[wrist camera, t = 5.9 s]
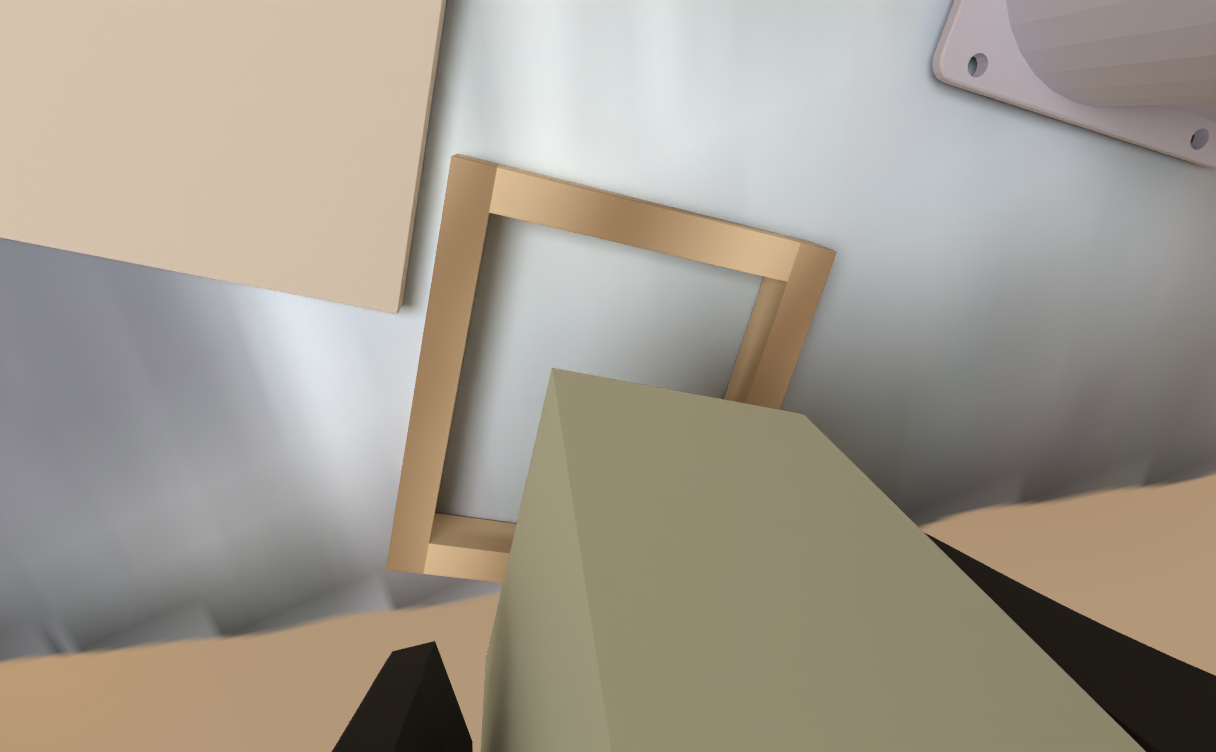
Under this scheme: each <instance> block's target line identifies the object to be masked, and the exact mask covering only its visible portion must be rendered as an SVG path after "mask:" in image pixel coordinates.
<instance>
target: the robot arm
mask: <svg viewBox="0 0 1216 752" xmlns="http://www.w3.org/2000/svg"><path fill="white" fill-rule="evenodd" d="M972 56H974V57H975V58H976V61H977V69H976V71H975V73H974V74H973V75H972V76H971V75H970V74H969V72H968V69H967V68H968V62H969V61H970V59H971V57H972ZM932 67H933V73H934V74H935V76H936V78H937V79H938V80H940V81H942V82H943V83H946V84H950V85H953V86H956V87H959V88H962V89H965V90H968V91H971V92H974V93H977V94H981V95H984V96H987V97H990V98H993V99H996V100H999V101H1002V102H1005V103H1008V104H1012V105H1015V106H1018V107H1021V108H1024V109H1027V110H1030V111H1033V112H1036V113H1040V114H1043V115H1046V116H1049V117H1052V118H1055V119H1058V120H1061V121H1064V122H1067V123H1071V124H1074V125H1077V126H1080V127H1083V128H1086V129H1089V130H1092V131H1095V132H1098V133H1102V134H1105V135H1108V136H1111V137H1114V138H1117V139H1120V140H1123V141H1126V142H1129V143H1133V144H1136V145H1139V146H1142V147H1145V148H1148V149H1151V150H1154V151H1157V152H1160V153H1164V154H1167V155H1170V156H1173V157H1176V158H1179V159H1182V160H1185V161H1188V162H1192V163H1195V164H1198V165H1201V166H1204V167H1214V168H1216V0H954V3H953V5H952V8H951V11H950V13H949V16H948V19H947V21H946V24H945V27H944V29H943V32H942V35H941V37H940V40H939V43H938V46H937V48H936V51H935V54H934V57H933V62H932ZM1193 135H1194V140H1193V142H1192V143H1190V142H1191V138H1192V136H1193ZM925 534H926V533H925ZM926 535H927V536H928V537H929V538H930V539H931V540H932V541H933V542H934V543H935V544H936V545H937V546H938V547H939V548H940V549H941V550H942V551H943V552H944V553H945V554H946V555H947V556H948V557H949V558H950V559H951V560H952V561H953V562H954V563H955V564H956V565H957V566H958V567H959V568H960V569H961V570H962V571H963V572H964V573H965V574H966V575H967V576H968V577H969V578H970V579H971V580H972V581H973V582H974V583H975V584H976V585H977V586H978V587H980V588H981V589H982V590H983V591H984V592H985V593H986V594H987V595H988V596H989V597H990V598H991V599H992V600H993V601H994V602H995V603H996V604H997V605H998V606H999V607H1000V608H1001V609H1002V610H1003V611H1004V612H1005V613H1006V614H1007V615H1008V616H1009V617H1010V618H1011V619H1012V620H1013V621H1014V622H1015V623H1016V624H1017V625H1018V626H1019V627H1020V628H1021V629H1022V630H1023V631H1024V632H1025V633H1026V634H1027V635H1028V636H1029V637H1030V638H1031V639H1032V640H1033V641H1034V642H1035V643H1036V644H1037V645H1038V646H1039V647H1040V648H1041V649H1042V650H1043V651H1044V652H1045V653H1046V654H1047V655H1048V656H1050V657H1051V658H1052V659H1053V660H1054V661H1055V662H1056V663H1057V664H1058V665H1059V666H1060V667H1061V668H1062V669H1063V670H1064V671H1065V672H1066V673H1067V674H1068V675H1069V676H1070V677H1071V678H1072V679H1073V680H1074V681H1075V682H1076V683H1077V684H1078V685H1079V686H1080V687H1081V688H1082V689H1083V690H1084V691H1085V692H1086V693H1087V694H1088V695H1089V696H1090V697H1091V698H1092V699H1093V700H1094V701H1095V702H1096V703H1097V704H1098V705H1099V706H1100V707H1101V708H1102V709H1103V710H1104V711H1105V712H1106V713H1107V714H1108V715H1109V716H1110V717H1111V718H1112V719H1113V720H1114V721H1115V722H1116V723H1117V724H1119V725H1120V726H1121V727H1122V728H1123V729H1124V730H1125V731H1126V732H1127V733H1128V734H1129V735H1130V736H1131V737H1132V738H1133V739H1134V740H1135V741H1136V742H1137V743H1138V744H1139V745H1140V746H1141V747H1142V748H1143V749H1144V750H1145V751H1146V752H1216V676H1215V675H1212V674H1210V673H1208V672H1206V671H1203V670H1201V669H1199V668H1196V667H1194V666H1192V665H1189V664H1187V663H1185V662H1182V661H1180V660H1178V659H1176V658H1173V657H1171V656H1169V655H1167V654H1165V653H1162V652H1160V651H1158V650H1156V649H1154V648H1152V647H1149V646H1147V645H1145V644H1143V643H1140V642H1139V641H1136V640H1134V639H1132V638H1130V637H1128V636H1125V635H1123V634H1121V633H1119V632H1117V631H1115V630H1112V629H1110V628H1108V627H1106V626H1104V625H1102V624H1100V623H1098V622H1096V621H1094V620H1092V619H1090V618H1088V617H1086V616H1084V615H1081V614H1079V613H1077V612H1075V611H1073V610H1071V609H1069V608H1067V607H1065V606H1063V605H1061V604H1059V603H1057V602H1055V601H1053V600H1052V599H1050V598H1048V597H1046V596H1044V595H1042V594H1040V593H1038V592H1036V591H1034V590H1032V589H1030V588H1028V587H1026V586H1024V585H1022V584H1020V583H1019V582H1016V581H1015V580H1013V579H1011V578H1009V577H1007V576H1005V575H1003V574H1001V573H999V572H997V571H996V570H994V569H991V568H990V567H988V566H986V565H984V564H983V563H981V562H979V561H977V560H975V559H973V558H971V557H969V556H968V555H966V554H964V553H962V552H960V551H958V550H956V549H954V548H953V547H950V546H949V545H947V544H945V543H943V542H941V541H939V540H937V539H936V538H934V537H932V536H930V535H928V534H926ZM332 752H472V740H471V737H470V734H469V731H468V729H467V726H466V723H465V721H464V718H463V715H462V713H461V710H460V707H459V704H458V702H457V699H456V696H455V694H454V691H453V688H452V686H451V683H450V680H449V678H448V675H447V672H446V669H445V667H444V664H443V662H442V659H441V656H440V653H439V651H438V648H437V646H436V643H435V641H434V642H429V643H426V644H422V645H417V646H413V647H409V648H405V649H401V650H397V651H393V652H392V653H391V655H390V656H389V658H388V659H387V661H386V662H385V664H384V666H383V667H382V669H381V670H380V672H379V674H378V675H377V677H376V679H375V681H374V682H373V684H372V686H371V687H370V689H369V691H368V692H367V694H366V696H365V697H364V699H363V701H362V702H361V704H360V706H359V708H358V709H357V711H356V713H355V714H354V716H353V717H352V719H351V721H350V722H349V724H348V726H347V727H346V729H345V731H344V732H343V734H342V736H341V737H340V739H339V741H338V743H337V744H336V746H335V747H334V749H333V750H332Z"/></svg>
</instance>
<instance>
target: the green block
mask: <svg viewBox="0 0 1216 752" xmlns="http://www.w3.org/2000/svg"><path fill="white" fill-rule="evenodd" d="M481 737H482V738H481V752H1146V751H1145V750H1144V749H1143V748H1142V747H1141V746H1140V745H1139V744H1138V743H1137V742H1136V741H1135V740H1134V739H1133V738H1132V737H1131V736H1130V735H1129V734H1128V733H1127V732H1126V731H1125V730H1124V729H1123V728H1122V727H1121V726H1120V725H1119V724H1117V723H1116V722H1115V721H1114V720H1113V719H1112V718H1111V717H1110V716H1109V715H1108V714H1107V713H1106V712H1105V711H1104V710H1103V709H1102V708H1101V707H1100V706H1099V705H1098V704H1097V703H1096V702H1095V701H1094V700H1093V699H1092V698H1091V697H1090V696H1089V695H1088V694H1087V693H1086V692H1085V691H1084V690H1083V689H1082V688H1081V687H1080V686H1079V685H1078V684H1077V683H1076V682H1075V681H1074V680H1073V679H1072V678H1071V677H1070V676H1069V675H1068V674H1067V673H1066V672H1065V671H1064V670H1063V669H1062V668H1061V667H1060V666H1059V665H1058V664H1057V663H1056V662H1055V661H1054V660H1053V659H1052V658H1051V657H1050V656H1048V655H1047V654H1046V653H1045V652H1044V651H1043V650H1042V649H1041V648H1040V647H1039V646H1038V645H1037V644H1036V643H1035V642H1034V641H1033V640H1032V639H1031V638H1030V637H1029V636H1028V635H1027V634H1026V633H1025V632H1024V631H1023V630H1022V629H1021V628H1020V627H1019V626H1018V625H1017V624H1016V623H1015V622H1014V621H1013V620H1012V619H1011V618H1010V617H1009V616H1008V615H1007V614H1006V613H1005V612H1004V611H1003V610H1002V609H1001V608H1000V607H999V606H998V605H997V604H996V603H995V602H994V601H993V600H992V599H991V598H990V597H989V596H988V595H987V594H986V593H985V592H984V591H983V590H982V589H981V588H980V587H978V586H977V585H976V584H975V583H974V582H973V581H972V580H971V579H970V578H969V577H968V576H967V575H966V574H965V573H964V572H963V571H962V570H961V569H960V568H959V567H958V566H957V565H956V564H955V563H954V562H953V561H952V560H951V559H950V558H949V557H948V556H947V555H946V554H945V553H944V552H943V551H942V550H941V549H940V548H939V547H938V546H937V545H936V544H935V543H934V542H933V541H932V540H931V539H930V538H929V537H928V536H927V535H926V534H925V533H924V532H923V531H922V530H921V529H920V528H919V527H918V526H917V525H916V524H915V523H914V522H913V521H912V520H911V519H910V518H908V517H907V516H906V515H905V514H904V513H903V512H902V511H901V510H900V509H899V508H898V507H897V506H896V505H895V504H894V503H893V502H892V501H891V500H890V499H889V498H888V497H887V496H886V495H885V494H884V493H883V492H882V491H881V490H880V489H879V488H878V487H877V486H876V485H875V484H874V483H873V482H872V481H871V480H870V479H869V478H868V477H867V476H866V475H865V474H864V473H863V472H862V471H861V470H860V469H859V468H858V467H857V466H856V465H855V464H854V463H853V462H852V461H851V460H850V459H849V458H848V457H847V456H846V455H845V454H844V453H843V452H842V451H841V450H840V449H838V448H837V447H836V446H835V445H834V444H833V443H832V442H831V441H830V440H829V439H828V438H827V437H826V436H825V435H824V434H823V433H822V432H821V431H820V430H819V429H818V428H817V427H816V426H815V425H814V424H813V423H812V422H811V421H810V420H809V419H808V418H807V417H806V416H805V415H804V414H800V413H794V412H789V411H783V410H778V409H773V408H767V407H762V406H756V405H751V404H745V403H740V402H734V401H729V400H724V399H718V398H713V397H707V396H702V395H696V394H691V393H686V392H680V391H675V390H669V389H664V388H658V387H653V386H648V385H642V384H637V383H631V382H626V381H620V380H615V379H609V378H604V377H599V376H593V375H588V374H582V373H577V372H571V371H566V370H561V369H555V368H552V370H551V375H550V379H549V384H548V388H547V392H546V397H545V401H544V406H543V410H542V414H541V419H540V423H539V427H538V432H537V436H536V441H535V445H534V449H533V454H532V458H531V463H530V467H529V471H528V476H527V480H526V484H525V489H524V493H523V498H522V502H521V506H520V511H519V515H518V520H517V524H516V528H515V533H514V537H513V541H512V546H511V550H510V555H509V559H508V563H507V568H506V572H505V577H504V581H503V585H502V590H501V594H500V598H499V603H498V607H497V612H496V616H495V621H494V625H493V629H492V634H491V638H490V642H489V647H488V651H487V655H486V665H485V682H484V700H483V718H482V736H481Z"/></svg>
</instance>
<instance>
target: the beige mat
mask: <svg viewBox="0 0 1216 752" xmlns="http://www.w3.org/2000/svg"><path fill="white" fill-rule="evenodd" d="M446 1H447V0H0V237H1V238H6V239H12V240H17V241H22V242H27V243H32V244H37V245H42V246H48V247H53V248H58V249H63V250H68V251H73V252H79V253H84V254H89V255H94V256H99V257H104V258H110V259H115V260H120V261H125V262H130V263H135V264H140V265H146V266H151V267H156V268H161V269H166V270H171V271H177V272H182V273H187V274H192V275H197V276H202V277H207V278H213V279H218V280H223V281H228V282H233V283H238V284H244V285H249V286H254V287H259V288H264V289H269V290H275V291H280V292H285V293H290V294H295V295H300V296H305V297H311V298H316V299H321V300H326V301H331V302H336V303H342V304H347V305H352V306H357V307H362V308H367V309H373V310H378V311H383V312H388V313H393V314H397V313H398V312H399V310H400V309H401V307H402V304H403V297H404V290H405V283H406V276H407V269H408V263H409V256H410V249H411V242H412V235H413V228H414V221H415V214H416V207H417V201H418V194H419V187H420V180H421V173H422V166H423V159H424V152H425V146H426V139H427V132H428V125H429V118H430V111H431V104H432V97H433V90H434V84H435V77H436V70H437V63H438V56H439V49H440V42H441V35H442V29H443V22H444V15H445V8H446Z"/></svg>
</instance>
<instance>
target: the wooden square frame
mask: <svg viewBox="0 0 1216 752" xmlns="http://www.w3.org/2000/svg"><path fill="white" fill-rule="evenodd" d="M490 213H493V214H498V215H502V216H506V217H511V218H515V219H519V220H523V221H528V222H532V223H536V224H541V225H545V226H549V227H553V228H558V229H562V230H566V231H571V232H575V233H579V234H584V235H588V236H592V237H596V238H601V239H605V240H609V241H614V242H618V243H622V244H627V245H631V246H635V247H639V248H644V249H648V250H652V251H657V252H661V253H665V254H670V255H674V256H678V257H682V258H687V259H691V260H695V261H700V262H704V263H708V264H712V265H717V266H721V267H725V268H730V269H734V270H738V271H743V272H747V273H751V274H755V275H760V276H764V277H763V280H762V283H761V286H760V289H759V292H758V295H757V299H756V302H755V305H754V308H753V311H752V314H751V317H750V320H749V323H748V326H747V329H746V332H745V335H744V338H743V341H742V344H741V347H740V350H739V353H738V356H737V360H736V363H735V366H734V369H733V372H732V375H731V378H730V381H729V384H728V387H727V390H726V393H725V396H724V400H729V401H734V402H740V403H745V404H751V405H756V406H762V407H767V408H773V409H778V410H780V408H781V405H782V402H783V400H784V397H785V394H786V391H787V389H788V386H789V383H790V380H791V377H792V375H793V372H794V369H795V366H796V364H797V361H798V358H799V355H800V352H801V350H802V347H803V344H804V341H805V339H806V336H807V333H808V330H809V328H810V325H811V322H812V319H813V316H814V314H815V311H816V308H817V305H818V303H819V300H820V297H821V294H822V291H823V289H824V286H825V283H826V280H827V278H828V275H829V272H830V269H831V267H832V264H833V261H834V258H835V255H836V253H837V252H836V251H834V250H831V249H828V248H826V247H823V246H820V245H818V244H815V243H812V242H809V241H805V240H801V239H797V238H793V237H789V236H785V235H781V234H777V233H773V232H769V231H765V230H761V229H757V228H753V227H749V226H745V225H741V224H737V223H733V222H729V221H725V220H721V219H717V218H713V217H709V216H705V215H701V214H697V213H693V212H689V211H685V210H681V209H677V208H673V207H668V206H664V205H660V204H656V203H652V202H648V201H644V200H640V199H636V198H632V197H628V196H624V195H620V194H616V193H612V192H608V191H604V190H600V189H596V188H592V187H588V186H584V185H580V184H576V183H572V182H568V181H564V180H560V179H556V178H552V177H548V176H544V175H540V174H536V173H532V172H528V171H524V170H520V169H516V168H512V167H508V166H504V165H500V164H496V163H492V162H488V161H484V160H480V159H476V158H472V157H468V156H464V155H460V154H456V155H453V156H452V157H451V163H450V169H449V176H448V182H447V188H446V194H445V201H444V207H443V213H442V220H441V226H440V232H439V239H438V245H437V251H436V257H435V264H434V270H433V276H432V283H431V289H430V295H429V302H428V308H427V314H426V321H425V327H424V333H423V339H422V346H421V352H420V358H419V365H418V371H417V377H416V384H415V390H414V396H413V402H412V409H411V415H410V421H409V428H408V434H407V440H406V447H405V453H404V459H403V465H402V472H401V478H400V484H399V491H398V497H397V503H396V510H395V516H394V522H393V529H392V535H391V541H390V547H389V554H388V560H387V566H386V570H395V571H404V572H412V573H421V574H430V575H439V576H448V577H457V578H465V579H474V580H483V581H492V582H501V583H503V581H504V577H505V572H506V568H507V563H508V559H509V555H510V550H511V546H512V541H513V537H514V533H515V528H516V524H514V523H507V522H499V521H492V520H484V519H476V518H469V517H461V516H454V515H446V514H439V513H435V512H436V506H437V501H438V495H439V490H440V484H441V479H442V473H443V468H444V462H445V457H446V451H447V446H448V440H449V435H450V429H451V424H452V418H453V413H454V407H455V402H456V396H457V391H458V385H459V380H460V374H461V369H462V363H463V358H464V352H465V347H466V341H467V336H468V330H469V325H470V319H471V314H472V308H473V303H474V297H475V292H476V286H477V281H478V275H479V270H480V264H481V259H482V253H483V248H484V242H485V237H486V231H487V226H488V220H489V215H490Z"/></svg>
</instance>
